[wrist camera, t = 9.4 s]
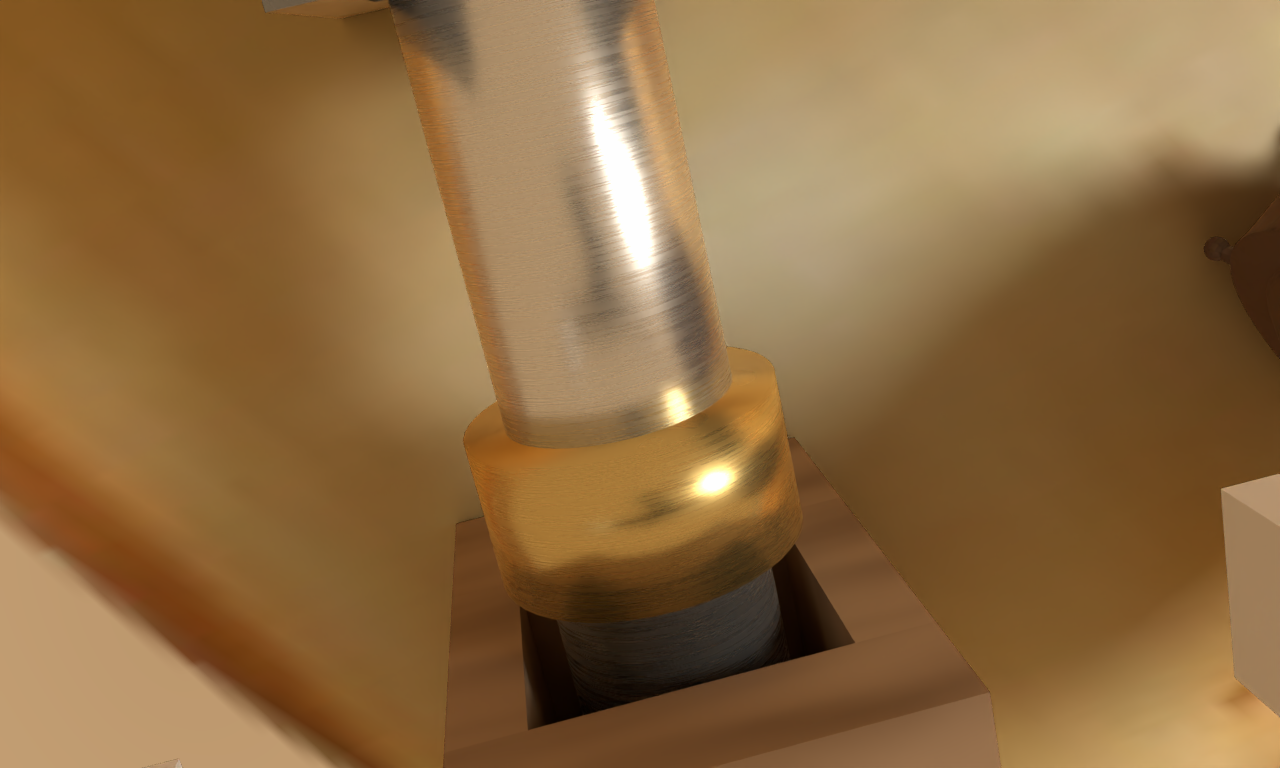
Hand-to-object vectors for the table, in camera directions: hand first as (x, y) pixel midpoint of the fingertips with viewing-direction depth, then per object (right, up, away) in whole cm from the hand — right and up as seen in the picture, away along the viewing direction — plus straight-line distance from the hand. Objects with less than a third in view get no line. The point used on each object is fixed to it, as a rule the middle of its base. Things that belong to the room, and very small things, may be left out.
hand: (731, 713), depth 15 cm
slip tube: (-2, +6, +10) cm, 12 cm away
